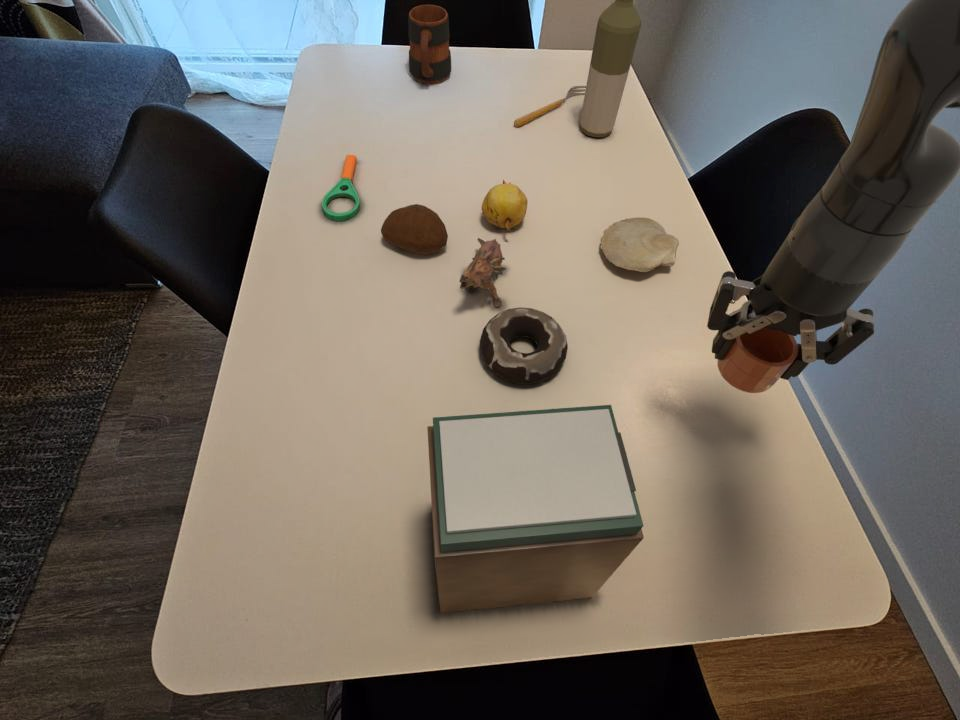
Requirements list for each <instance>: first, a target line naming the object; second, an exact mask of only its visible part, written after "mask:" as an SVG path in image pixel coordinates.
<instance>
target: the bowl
mask: <svg viewBox="0 0 960 720" xmlns="http://www.w3.org/2000/svg"><path fill="white" fill-rule="evenodd" d="M798 344H799V343H798V342H797V340H796V338H795V336H792V335H789V334H786V333H784V332H782V331H780V330H771V329H767V328H761V329H759V330H757V331H755V332H753V333H751V334H748V333H747V332H746V333H744V334H742V335H740V336H738V337H736V338H735V340H734V342H733V344H732V345H731V347H730V348H729V350H728V351H727V353H726V355H725V356H724V358H723V359H722V360H718V359H717V369H718V371H719V374H720V376H721V377H722V378H723V380H724V381H726V382H727V383H728V384H729V385H730V386H732V387H733V388H735V389H737V390H739V391H742V392H744V393H750V394H760V393H764V392H766V391H769V390H770V389H771V388H772V387H774V385H775V384H776V383H778V382H777V381H779V379H781V378H780V377H781V376H782V374H783V373H784V372H785V371H786V370H787V368H788V367H789V366H790V365H791V364H792V363H793V361H794V360H795V359H796V357H797V356H798Z"/></svg>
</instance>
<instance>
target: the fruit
mask: <svg viewBox="0 0 960 720" xmlns="http://www.w3.org/2000/svg"><path fill="white" fill-rule="evenodd" d="M527 209H528V198H527V196H526V194H525V192H524V191H523V190H521V189H520V187H519V186H518V185H516V184H514V183H513V184H512V182H511V181H510V182H506V181H505V179H502V183H500V184H495V185H494V186H492V187H491V188H489V190H488V192H487V193H486V195H485V196H484V198H483V201H482V204H481V212H482V215H483V217H484V218H485V219H486V221H487V222H488V223H490V224H492V225H494V226H496V227H499V228H502V229H506V231H507V233H512V230H511V229H512V228H514V227H516V226H518V225H519V224H520V223H521V222H522V221H523V219H524V218H525V217H526V214H527Z"/></svg>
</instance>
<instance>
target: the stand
mask: <svg viewBox="0 0 960 720" xmlns="http://www.w3.org/2000/svg"><path fill="white" fill-rule="evenodd" d="M427 446H428V447H427V448H428V464H429V479H430V480H429V482H430V498H431V499H430V500H431V516H432V517H431V518H432V534H433V535H432V536H433V551H434V553H433V555H434V565H435V574H436V584H437V592H438V602H439V612H440V614H445V613H455V612H464V611H473V610H474V611H475V610H484V609H494V608H503V607H514V606H524V605H532V604H542V603H552V602H563V601H572V600H582V599H591V598H594V596H596V594H597V593H598V591H599V590H601V588H602V587H603V586H604V585H605V584H606V582H607V581H608V580H609V579H610V578H611V577H612V575H613V574H614V573H615V572H616V571H617V570H618V568H619V567H620V566H621V565H622V564H623V563H624V562H625V560H626V559H627V558H628V557H629V556H630V555H631V553H632V552H633V551H634V550H635V549H636V548H637V547H638V545H639V544H640V543H641V542H642V541H643V540H644V533H643V528H641V530H640V531H639V532H638V533H637V534H636V535H626V536H615V537H604V538H593V539H583V540H572V541H561V542H550V543H540V544H529V545H518V546H507V547H496V548H486V549H475V550H464V551H453V552H441V544H440V527H439V511H438V495H437V479H436V463H435V447H434V431H433V425H428V426H427Z"/></svg>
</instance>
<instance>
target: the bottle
mask: <svg viewBox="0 0 960 720" xmlns="http://www.w3.org/2000/svg"><path fill="white" fill-rule="evenodd" d="M641 29H642V19H641V17H640V15H639V12H638V11H637V10H636V7H635V5H634V0H615V1H614V2H612V3H611V4H610V5H608V7H606V9H604V10H603V11H602V12H601V14H600V15H599V16H598V19H597V24H596V29H595V35H594V41H593V46H592V52H591V57H590V64H589V68H588V74H587V80H586V85H585V86H586V88H585V89H586V90H585V91H584V93H585V95H583V96H584V97H583V103H582V108H581V113H580V119H579V127H580V130H581V132H582V133H584V134H585V135H587V136H589V137H593V138H605V137H607V136H610V135H611V133H612V131H613V130H614V127H615V124H616V121H617V120H616V119H617V117H618V113H619V109H620V105H621V103H622V98H623V95H624V91H625V87H626V83H627V79H628V76H629V72H630V68H631V66H632V65H631V64H632V61H633V58H634V54H635V50H636V46H637V43H638V39H639V35H640V32H641Z"/></svg>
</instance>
